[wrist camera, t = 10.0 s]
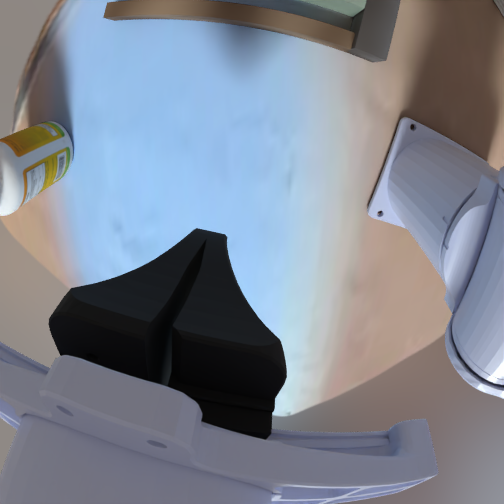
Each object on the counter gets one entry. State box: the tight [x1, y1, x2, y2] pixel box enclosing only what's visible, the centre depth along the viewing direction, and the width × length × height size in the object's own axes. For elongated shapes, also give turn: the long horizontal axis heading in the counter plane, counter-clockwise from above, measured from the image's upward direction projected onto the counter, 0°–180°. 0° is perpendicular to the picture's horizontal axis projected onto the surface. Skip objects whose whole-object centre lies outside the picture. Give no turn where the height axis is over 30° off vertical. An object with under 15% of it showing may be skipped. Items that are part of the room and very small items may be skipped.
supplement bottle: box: [0, 121, 73, 216], centre depth 15 cm, size 5×5×10 cm
